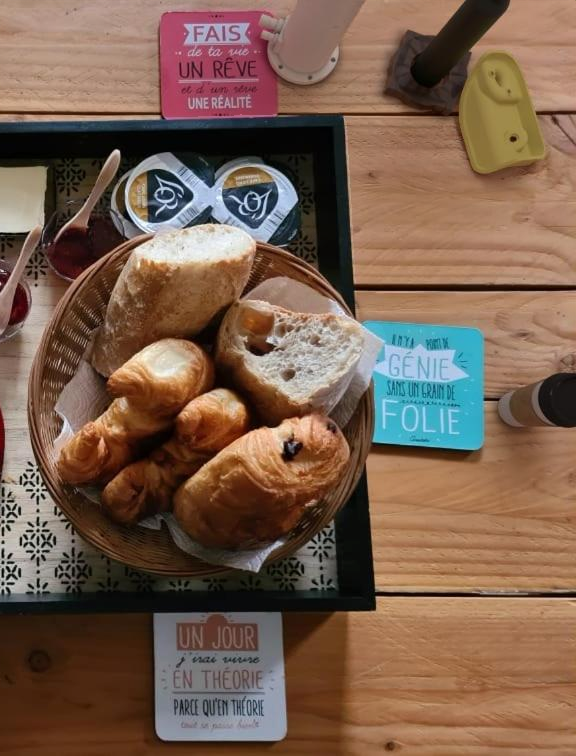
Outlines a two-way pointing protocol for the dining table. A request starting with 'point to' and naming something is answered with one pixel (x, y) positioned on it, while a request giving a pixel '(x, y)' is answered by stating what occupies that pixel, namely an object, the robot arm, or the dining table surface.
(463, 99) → the plastic component
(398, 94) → the brown square ring
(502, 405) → the coffee cup
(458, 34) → the wine bottle
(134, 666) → the dining table surface
